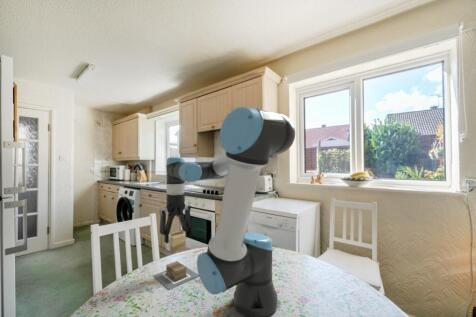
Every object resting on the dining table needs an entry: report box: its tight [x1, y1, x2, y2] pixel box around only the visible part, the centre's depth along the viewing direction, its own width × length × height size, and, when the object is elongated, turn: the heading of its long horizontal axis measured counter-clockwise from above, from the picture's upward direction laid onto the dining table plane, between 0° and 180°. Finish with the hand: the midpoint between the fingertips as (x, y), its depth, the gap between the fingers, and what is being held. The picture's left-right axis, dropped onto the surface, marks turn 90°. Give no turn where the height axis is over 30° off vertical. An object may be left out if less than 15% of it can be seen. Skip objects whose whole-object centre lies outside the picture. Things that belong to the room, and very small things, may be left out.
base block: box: [165, 260, 187, 281], centre depth 92 cm, size 8×5×4 cm, turn 45°
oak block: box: [169, 230, 187, 254], centre depth 93 cm, size 6×6×6 cm
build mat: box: [152, 263, 200, 291], centre depth 92 cm, size 14×14×1 cm
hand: (175, 247), depth 93 cm, fingers closed on oak block, 6 cm apart
